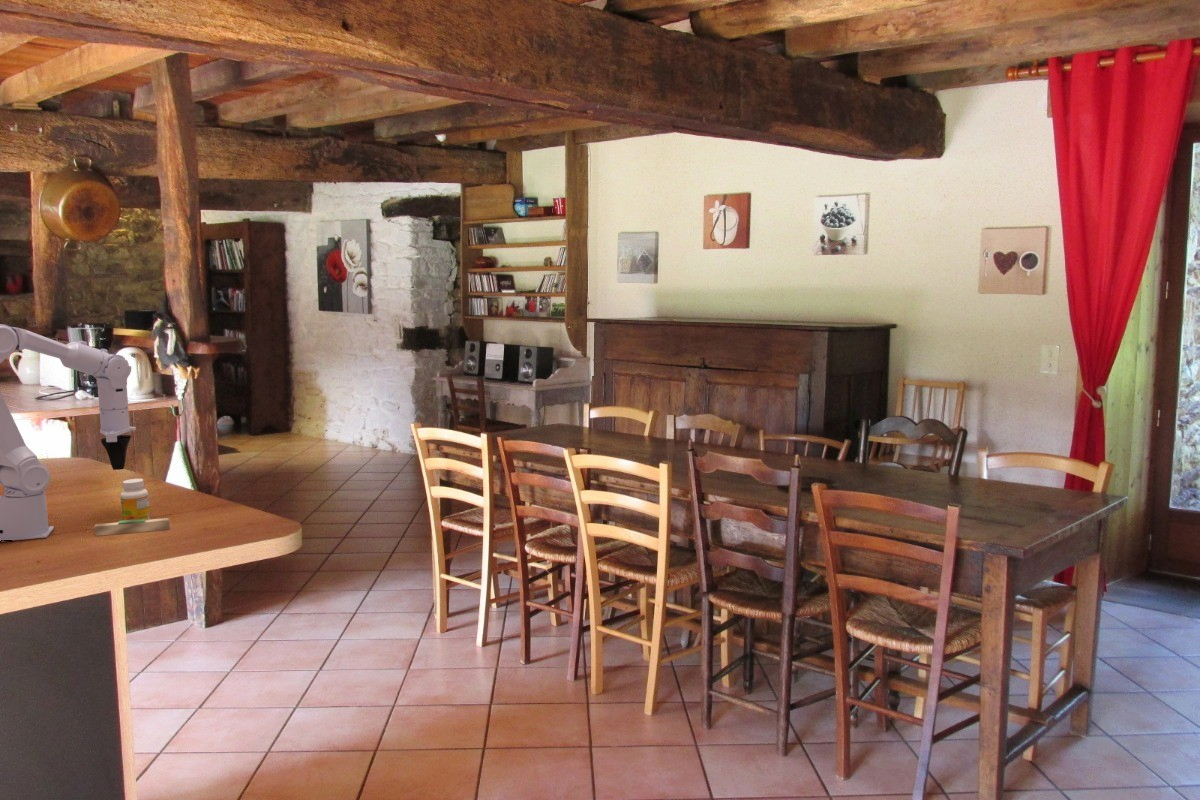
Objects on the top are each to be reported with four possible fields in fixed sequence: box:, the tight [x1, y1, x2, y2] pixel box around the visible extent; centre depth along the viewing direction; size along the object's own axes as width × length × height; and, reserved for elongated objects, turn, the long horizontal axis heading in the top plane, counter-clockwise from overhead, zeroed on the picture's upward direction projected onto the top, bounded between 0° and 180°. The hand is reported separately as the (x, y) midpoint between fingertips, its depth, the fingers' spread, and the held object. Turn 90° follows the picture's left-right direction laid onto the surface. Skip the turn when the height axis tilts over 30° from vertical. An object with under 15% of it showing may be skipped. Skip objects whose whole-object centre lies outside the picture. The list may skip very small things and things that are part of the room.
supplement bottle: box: [120, 478, 151, 521], centre depth 208 cm, size 5×5×10 cm
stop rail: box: [93, 517, 171, 537], centre depth 204 cm, size 14×2×2 cm, turn 109°
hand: (118, 469), depth 216 cm, fingers closed
